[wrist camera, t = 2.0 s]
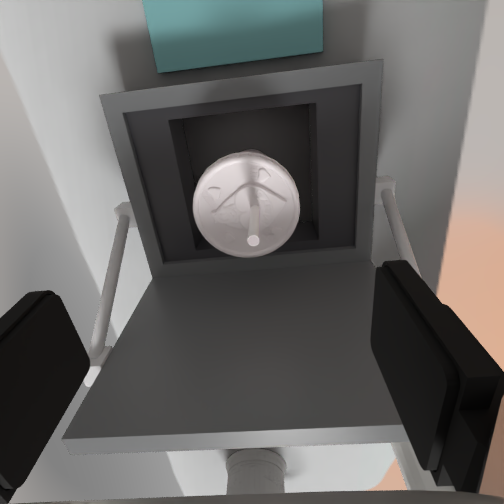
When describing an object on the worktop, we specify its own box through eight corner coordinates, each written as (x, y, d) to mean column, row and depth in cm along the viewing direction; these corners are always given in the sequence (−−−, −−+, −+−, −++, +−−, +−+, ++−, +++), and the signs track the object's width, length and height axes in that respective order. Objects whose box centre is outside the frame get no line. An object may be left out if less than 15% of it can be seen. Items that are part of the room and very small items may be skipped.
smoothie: (295, 198, 29) (320, 286, 16) (225, 214, 29) (198, 310, 17) (280, 122, 26) (297, 158, 13) (203, 142, 27) (151, 194, 14)
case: (382, 60, 24) (658, 6, 7) (371, 249, 31) (497, 441, 14) (107, 95, 25) (-184, 116, 9) (156, 267, 32) (44, 458, 16)
